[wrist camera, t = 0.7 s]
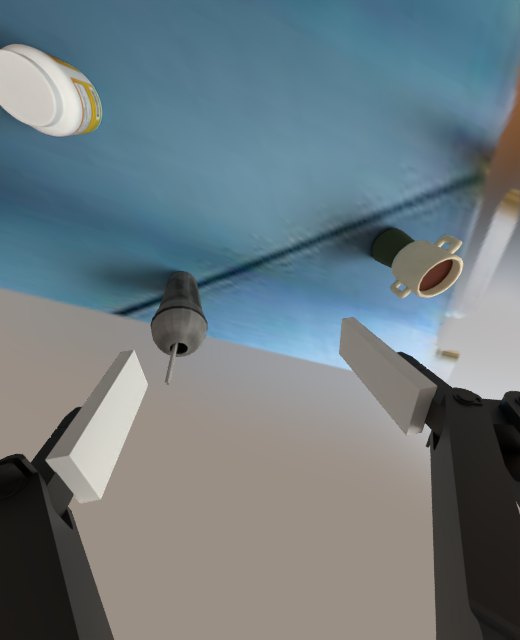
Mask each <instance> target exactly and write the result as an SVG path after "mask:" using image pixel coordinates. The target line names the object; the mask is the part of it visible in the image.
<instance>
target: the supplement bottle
mask: <svg viewBox="0 0 520 640" xmlns="http://www.w3.org/2000/svg"><path fill="white" fill-rule="evenodd" d="M0 105H1V106H2V107H3V108H4V109H5V110H6V111H7V112H8V113H9V114H11V115H12V116H13V117H15V118H16V119H18V120H19V121H21V122H23V123H26V124H28V125H30V126H31V127H33V128H34V129H36V130H38V131H40V132H42V133H45V134H48V135H51V136H70V135H77V134H86V133H90V132H92V131H94V130H95V129H97V127H98V126H99V125H100V122H101V119H102V107H101V102H100V99H99V96H98V94H97V92H96V90H95V88H94V87H93V85H92V84H91V83H90V81H89V80H88V79H87V78H86V77H85V75H84V74H82V73H81V72H80V71H79V70H78V69H76V68H75V67H73V66H72V65H70V64H68V63H66V62H64V61H61V60H59V59H57V58H55V57H53V56H50V55H48V54H46V53H44V52H42V51H40V50H38V49H35V48H33V47H30V46H27V45H22V44H11V45H8V46H5V47H4V48H2V49H0Z"/></svg>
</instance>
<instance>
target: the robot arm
mask: <svg viewBox="0 0 520 640" xmlns="http://www.w3.org/2000/svg"><path fill="white" fill-rule="evenodd" d="M339 354H340V355H341V356H342V358H343V359H344V360H345V361H346V362H347V364H348V365H349V366H350V367H351V369H352V370H353V371H354V372H355V373H356V375H357V376H358V377H359V378H360V380H361V381H362V382H363V383H364V384H365V386H366V387H367V388H368V389H369V391H370V392H371V393H372V394H373V396H374V397H375V398H376V399H377V400H378V402H379V403H380V404H381V405H382V406H383V408H384V409H385V410H386V411H387V413H388V414H389V415H390V416H391V418H392V419H393V420H394V421H395V422H396V424H397V425H398V426H399V427H400V429H401V430H402V431H403V432H404V433H405V435H412V434H417V433H421V432H422V430H423V427H424V424H425V423H426V424H427V425H428V426H429V427H430V429H431V433H430V436H429V439H428V442H427V444H426V447H429V446H430V453H431V482H432V483H431V484H432V514H433V546H434V577H435V606H436V640H520V514H519V510H518V507H517V504H518V505H519V507H520V392H518V391H509V392H506V393H505V395H504V397H503V399H502V400H492V399H482V398H481V397H480V396H478V395H477V394H475V393H473V392H471V391H469V390H466V389H462V388H452V387H451V386H449V385H448V384H447V383H445V382H444V381H443V380H442V379H440V378H439V377H438V376H436V375H435V374H434V373H433V372H431V371H430V370H429V369H427V368H426V367H425V366H423V365H422V364H420V362H418V361H417V360H416V359H414V358H413V357H412V356H410V355H407V354H405V353H403V352H397V353H396V352H395V351H394V350H393V349H391V348H390V347H389V346H388V345H387V344H385V343H384V342H383V341H382V340H380V339H379V338H378V337H377V336H376V335H374V334H373V333H372V332H371V331H369V330H368V329H367V328H366V327H365V326H363V325H362V324H361V323H360V322H358V321H357V320H356V319H355V318H354V317H350V318H344V319H342V325H341V338H340V350H339ZM147 386H148V384H147V381H146V379H145V377H144V374H143V371H142V369H141V367H140V364H139V361H138V359H137V356H136V354H135V351H134V350H131V351H124V352H121V353H120V354H119V355H118V357H117V358H116V359H115V361H114V362H113V364H112V365H111V367H110V368H109V370H108V371H107V372H106V374H105V375H104V377H103V378H102V380H101V381H100V383H99V384H98V385H97V387H96V388H95V389H94V391H93V392H92V394H91V395H90V397H89V398H88V399H87V401H86V402H85V404H84V405H83V406H82V407H77V408H75V409H74V410H73V411H71V412H70V413H69V414H68V415H67V416H66V417H65V418H64V419H63V420H62V422H61V423H60V424H59V426H58V427H57V429H56V430H55V431H54V432H53V434H52V435H51V438H49V439H48V440H47V442H46V443H45V444H44V446H43V447H42V448H41V450H40V451H39V452H38V454H37V455H36V456H35V458H34V459H33V460H32V462H31V463H30V462H29V461H28V460H27V459H26V457H25V456H24V455H23V454H14V455H10V456H7V457H5V458H3V459H1V460H0V640H114V638H113V635H112V632H111V629H110V626H109V623H108V620H107V617H106V614H105V611H104V608H103V605H102V602H101V599H100V596H99V593H98V590H97V587H96V584H95V581H94V578H93V575H92V572H91V569H90V565H89V562H88V560H87V556H86V553H85V550H84V547H83V544H82V541H81V538H80V535H79V532H78V529H77V526H76V523H75V520H74V517H73V514H72V511H71V510H70V509H69V507H68V505H69V503H70V501H71V499H72V497H73V495H74V497H75V498H76V499H77V500H78V501H79V503H85V502H90V501H95V500H99V499H101V497H102V495H103V492H104V490H105V487H106V485H107V483H108V480H109V478H110V476H111V473H112V471H113V468H114V466H115V463H116V461H117V459H118V456H119V454H120V451H121V449H122V447H123V444H124V442H125V439H126V437H127V435H128V432H129V430H130V427H131V425H132V422H133V420H134V418H135V415H136V413H137V410H138V408H139V405H140V403H141V401H142V398H143V396H144V394H145V391H146V389H147ZM516 502H517V503H516Z"/></svg>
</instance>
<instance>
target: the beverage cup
mask: <svg viewBox="0 0 520 640" xmlns="http://www.w3.org/2000/svg"><path fill="white" fill-rule="evenodd" d="M151 329H152V330H151V331H152V336H153V340H154V342H155V344H156V345H157V346H158V348H159V349H160V350H162V351H163V352H164V353H166V354H168V355H171V357H170V361H169V366H168V371H167V375H166V380H165V384H166V385H169V384H170V379H171V374H172V370H173V365H174V360H175V356H176V357H181V356H186V355H190V354H191V353H193V352H195V351H196V350H197V349H198V348H199V347H200V346H201V345H202V343H203V341H204V339H205V337H206V332H207V321H206V319H205V316H204V314H203V312H202V307H201V302H200V297H199V292H198V286H197V284H196V280H195V278H194V277H193V276H192V275H191V274H189V273H187V272H176V273H174V274H173V275H172V276H171V277H170V279H169V281H168V283H167V286H166V289H165V292H164V295H163V298H162V301H161V304H160V307H159V309H158V310H157V312H156V314H155V316H154V317H153V318H152V322H151Z"/></svg>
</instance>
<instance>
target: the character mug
mask: <svg viewBox="0 0 520 640" xmlns="http://www.w3.org/2000/svg"><path fill="white" fill-rule="evenodd" d="M445 242H447V243H449V244H451V246H450V247H449V248H448V249H447V250H445V249H443V248H441V246H442V245H443V244H444V243H445ZM461 244H462V242H461V240H458V239H456V238H454V237H452V236H449V235H443V236H442V237H440V238H439V239H438V240H437V241H436V242H435V243H434V244H433V243H431V242H428V241H423V240H422V241H414V240H413V239H412V238H411V237H410V236H408V235H407V234H406V233H404V232H403V231H401V230H399V229H390V230H387V231H386V232H384V233H382V234H381V235H380V236H379V237H378V238H377V239H376V240H375V242H374V245H373V247H372V256H373V257H374V259H375V260H376V261H378V262H380V263H382V264H384V265H386V266H388V267H390V268H392V273H393V275H394V276H395V278H396V279H397V280H396V281H395V282H394V283H393V284H392V285H391V287H390V289H391V291H392V292H393V293H394V294H396V295H397V296H398V297H399V298H404V297H406V296H407V295H408V294H409V293H410V292H411V291H412V292H414V293H415V294H416V295H418V296H420V297H423V298H428V297H433V296H436V295H438V294H440V293H442V292H443V291H445V290H446V289H448V288H449V287H450V286H451V285H452V284H453V283H454V282H455V281H456V280H457V278H458V277H459V275H460V273H461V272H462V268H463V262H462V259H461V258H460V257H458V256H456V255H454V254H453V253H454V252H455V251H456V250H457V249H458V248H459V247H460V246H461ZM401 284H403V285H405V286H406V288H405V289H404V290H403V291H401V290H400V289H398V287H399V286H400V285H401Z"/></svg>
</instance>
